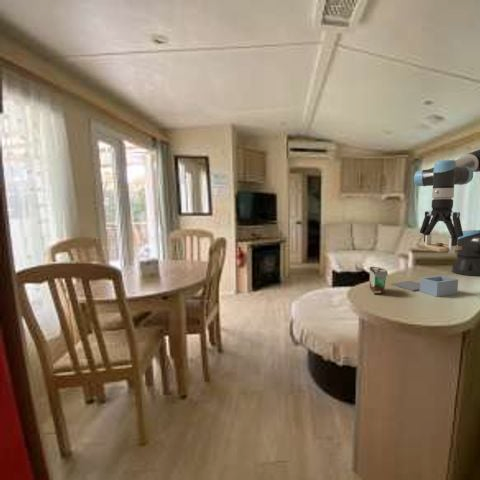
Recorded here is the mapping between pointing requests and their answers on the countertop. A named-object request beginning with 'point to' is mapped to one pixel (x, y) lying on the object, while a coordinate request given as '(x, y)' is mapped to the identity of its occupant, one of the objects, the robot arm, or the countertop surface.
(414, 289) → the mat
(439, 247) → the lid
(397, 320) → the countertop surface
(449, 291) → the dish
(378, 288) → the food container
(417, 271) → the countertop surface
